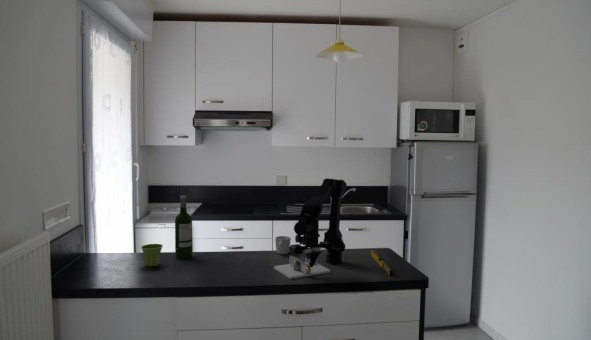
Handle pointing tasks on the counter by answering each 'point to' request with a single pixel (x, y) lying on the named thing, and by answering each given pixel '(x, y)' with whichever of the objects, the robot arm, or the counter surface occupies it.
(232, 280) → the counter surface
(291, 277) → the white mechanism board
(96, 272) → the counter surface
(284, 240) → the cup
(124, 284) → the counter surface
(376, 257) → the spirit level
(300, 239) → the robot arm
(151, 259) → the plant pot
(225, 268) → the counter surface
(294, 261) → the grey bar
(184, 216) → the wine bottle
